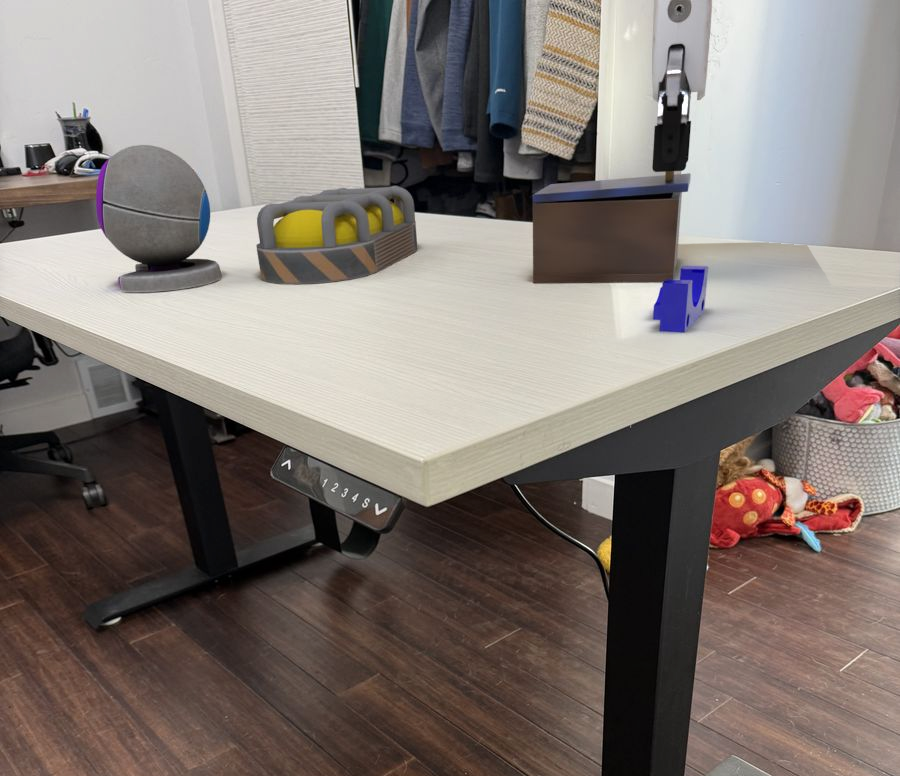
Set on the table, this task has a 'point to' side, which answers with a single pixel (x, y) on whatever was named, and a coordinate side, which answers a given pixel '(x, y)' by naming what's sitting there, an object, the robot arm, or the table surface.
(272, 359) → the table surface
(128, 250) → the grey ball on stand
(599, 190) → the lid
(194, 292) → the table surface
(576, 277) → the chest
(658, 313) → the cable holder
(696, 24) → the robot arm
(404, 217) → the cage light
